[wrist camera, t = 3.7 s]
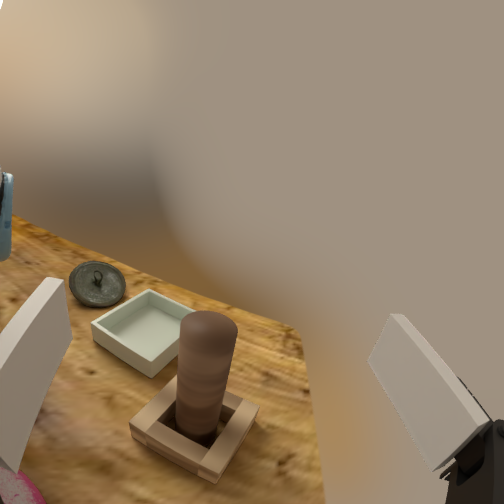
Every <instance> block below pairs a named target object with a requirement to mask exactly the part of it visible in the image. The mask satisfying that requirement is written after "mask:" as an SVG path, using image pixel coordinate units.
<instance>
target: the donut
mask: <svg viewBox="0 0 504 504" xmlns="http://www.w3.org/2000/svg"><path fill="white" fill-rule="evenodd" d="M0 495H1V498H2V500H3V502H4V504H46V502H45V500H44V498H43V496H42V495H41V493H40V491H39V490H38V488H37V487H36V486H35V485H34V484H33V483H32V481H31V480H30V479H29V478H28V477H27V476H26V475H25V474H24V473H23V472H22V471H21V470H20V469H18V473H17V474H15V473H13V472H11V471H8V470H6V469H4V468H2V467H0Z"/></svg>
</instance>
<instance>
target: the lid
mask: <svg viewBox="0 0 504 504" xmlns="http://www.w3.org/2000/svg"><path fill="white" fill-rule="evenodd" d="M69 287H70V290H71V292H72V293H73V295H74V296H75V298H76V299H77V300H78V301H79V302H80V303H82V304H84V305H86V306H89V307H98V308H101V307H107V306H111V305H114V304H115V303H117V302H118V301H119V300H120V299H121V298H122V296H123V294H124V292H125V287H126V282H125V279H124V276H123V275H122V273H121V272H120V271H119V270H118V269H117V268H115V267H114V266H112V265H110V264H108V263H105V262H99V261H88V262H84V263H82V264H80V265H78V266H77V267H76V268H75V269H74V270H73V271H72V272H71V274H70V276H69Z"/></svg>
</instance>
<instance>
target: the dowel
mask: <svg viewBox="0 0 504 504" xmlns="http://www.w3.org/2000/svg"><path fill="white" fill-rule="evenodd" d="M237 333H238V329H237V326H236V324H235V323H234V322H233V321H232V320H231V319H230V318H228V317H227V316H225V315H223V314H220V313H217V312H213V311H195V312H192V313H189V314H187V315H186V316H185V317H183V319H182V320H181V323H180V335H179V350H178V367H177V389H176V424H175V431H176V432H177V433H179V434H181V435H182V436H184V437H186V438H188V439H190V440H192V441H194V442H195V443H197V444H199V445H201V446H206V445H208V444H210V443H211V442H212V441H213V440H214V438H215V435H216V430H217V425H218V421H219V416H220V412H221V407H222V402H223V398H224V393H225V389H226V384H227V379H228V375H229V370H230V366H231V361H232V356H233V352H234V347H235V343H236V338H237Z"/></svg>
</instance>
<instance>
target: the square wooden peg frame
mask: <svg viewBox="0 0 504 504" xmlns="http://www.w3.org/2000/svg"><path fill="white" fill-rule="evenodd" d="M176 389H177V375H176V376H175V377H174V378H173V379H172V380H171V381H170V382H169V383H168V384H167V385H166V386H165V387H164V388H163V389H162V390H161V391H160V392H159V393H158V394H157V395H156V396H155V397H154V398H153V399H151V400H150V401H149V402H148V403H147V404H146V405H145V406H144V407H143V408H142V409H141V410H140V411H139V412H138V413H137V414H136V415H135V416H134V417H133V418H132V419H131V420H130V421H129V426H130V431H131V435H132V437H134V438H135V439H137V440H138V441H140V442H141V443H143V444H144V445H146V446H147V447H149V448H150V449H152V450H153V451H155V452H157V453H158V454H160V455H162V456H163V457H165V458H167V459H168V460H170V461H172V462H174V463H175V464H177V465H179V466H181V467H182V468H184V469H186V470H188V471H190V472H192V473H194V474H196V475H198V476H199V477H201V478H203V479H205V480H208V481H210V482H212V483H214V484H216V483H217V482H218V480H219V479H220V477H221V476H222V474H223V472H224V471H225V469H226V468H227V466H228V464H229V463H230V461H231V460H232V458H233V456H234V455H235V453H236V451H237V450H238V448H239V446H240V445H241V443H242V441H243V440H244V438H245V436H246V435H247V433H248V431H249V430H250V428H251V426H252V424H253V423H254V421H255V418H256V416H257V413H258V410H259V408H260V406H259V405H257V404H254V403H252V402H250V401H247V400H245V399H243V398H241V397H238V396H236V395H234V394H232V393H229V392H227V391H225V393H224V398H223V402H222V407H221V412H220V416H219V419H220V420H222V421H224V422H226V423H227V425H226V426H225V428H224V429H223V431H222V432H221V434H220V435H219V437H218V438H217V439H216V441H215V442H214V444H213V445H212V447H211V448H210V450H209V449H207V448H205V447H203V446H201V445H199V444H197V443H195V442H194V441H192V440H190V439H188V438H186V437H184V436H182V435H181V434H179V433H177V432H175V431H174V430H172V429H170V428H168V427H167V426H166V425H167V424H168V422H169V421H170V420H171V419H172V418H173V417H174V416H175V415H176Z"/></svg>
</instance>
